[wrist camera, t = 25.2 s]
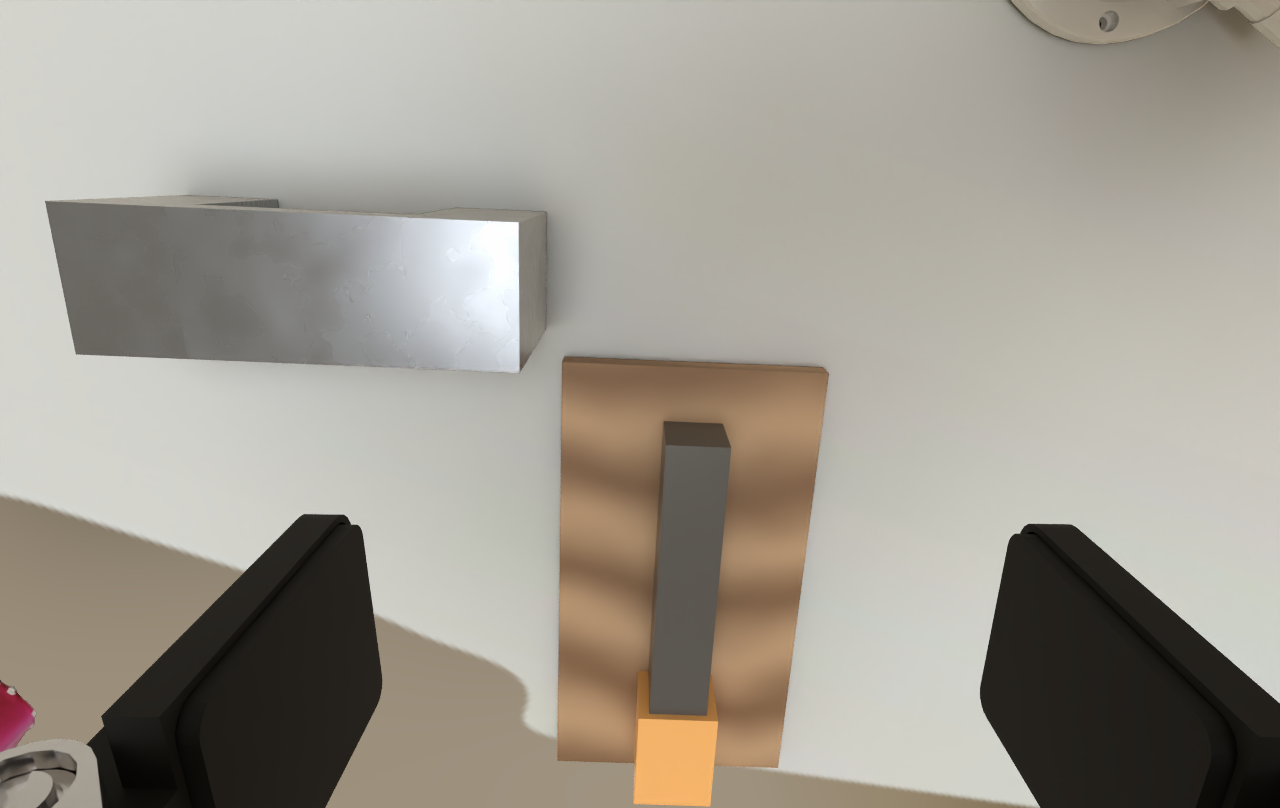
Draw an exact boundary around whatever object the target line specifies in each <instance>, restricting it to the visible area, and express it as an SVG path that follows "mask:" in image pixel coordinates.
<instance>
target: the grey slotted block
mask: <svg viewBox="0 0 1280 808" xmlns="http://www.w3.org/2000/svg"><path fill="white" fill-rule="evenodd" d="M45 203H46V208H47V213H48V218H49V223H50V228H51V233H52V238H53V243H54V248H55V253H56V258H57V263H58V268H59V273H60V277H61V282H62V287H63V292H64V297H65V302H66V307H67V312H68V317H69V322H70V327H71V332H72V337H73V342H74V347H75V352H76V354H81V355H105V356H129V357H153V358H177V359H201V360H225V361H249V362H273V363H297V364H321V365H345V366H369V367H393V368H417V369H441V370H465V371H489V372H513V373H520V371H521V370H522V368H523V366H524V365H525V363H526V361H527V359H528V358H529V356H530V354H531V353H532V351H533V349H534V348H535V346H536V344H537V343H538V341H539V339H540V338H541V336H542V334H543V333H544V331H545V329H546V229H547V212H543V211H521V210H499V209H477V208H452V209H446V210H440V211H435V212H429V213H423V214H417V215H414V214H392V213H370V212H348V211H326V210H304V209H282V208H278V199H259V198H237V197H215V196H193V195H180V196H156V197H132V198H108V199H83V200H59V201H45Z"/></svg>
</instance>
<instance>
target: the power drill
mask: <svg viewBox="0 0 1280 808" xmlns="http://www.w3.org/2000/svg"><path fill="white" fill-rule="evenodd" d="M35 716H36V711H35V710H34V709H33V707H31V705H30V704H28V702H27V701H25V700H24V699H22V697H21V696H20V695H19V694H18V693H17V690H16V689H15V688H14V687H12V686H8V685H5V684H4V683H2V682H1V680H0V752H2V751H5V750H8V749H11V748H15V747H16V746H17V744H18V743H19V741H20V740H21V739H22V737H23V736H24V734H25V733H26V731H28V730H30V729H31V728H33V726H34V719H35Z"/></svg>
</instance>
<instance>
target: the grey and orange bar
mask: <svg viewBox="0 0 1280 808" xmlns="http://www.w3.org/2000/svg"><path fill="white" fill-rule="evenodd" d="M730 458H731V445H730V443H729V440H728V437H727V434H726V431H725V428H724V425H723V424H721V423H697V422H674V421H663V436H662V453H661V469H660V486H659V503H658V519H657V536H656V553H655V569H654V586H653V602H652V619H651V636H650V652H649V669H648V671H638V688H637V706H636V724H635V742H634V804H654V805H684V806H710V800H711V791H712V780H713V770H714V760H715V750H716V740H717V730H718V716H717V710H716V703H715V696H714V690H713V683H712V676H711V664H712V653H713V643H714V632H715V621H716V610H717V599H718V588H719V577H720V566H721V556H722V545H723V534H724V523H725V512H726V501H727V490H728V479H729V468H730Z"/></svg>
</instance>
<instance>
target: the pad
mask: <svg viewBox="0 0 1280 808" xmlns="http://www.w3.org/2000/svg"><path fill="white" fill-rule="evenodd" d="M828 376H829V373H828V372H827V371H826V370H825V369H824V368H822V367H798V366H774V365H750V364H727V363H703V362H679V361H656V360H632V359H608V358H584V357H564V359H563V362H562V425H561V510H560V595H559V680H558V761H584V762H615V763H634V742H635V724H636V706H637V688H638V671H648V669H649V652H650V636H651V619H652V602H653V586H654V569H655V553H656V536H657V519H658V503H659V486H660V469H661V453H662V436H663V421H674V422H697V423H721V424H723V425H724V428H725V431H726V434H727V437H728V440H729V443H730V445H731V458H730V468H729V479H728V490H727V501H726V512H725V523H724V534H723V545H722V556H721V566H720V577H719V588H718V599H717V610H716V621H715V632H714V643H713V653H712V664H711V676H712V683H713V690H714V696H715V703H716V710H717V716H718V730H717V740H716V750H715V760H714V766H740V767H771V768H778V763H779V755H780V747H781V739H782V732H783V724H784V716H785V709H786V701H787V693H788V685H789V678H790V670H791V662H792V654H793V647H794V639H795V631H796V624H797V616H798V608H799V600H800V593H801V585H802V577H803V569H804V562H805V554H806V546H807V539H808V531H809V523H810V515H811V508H812V500H813V492H814V484H815V477H816V469H817V461H818V454H819V446H820V438H821V430H822V423H823V415H824V407H825V399H826V392H827V384H828Z"/></svg>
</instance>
